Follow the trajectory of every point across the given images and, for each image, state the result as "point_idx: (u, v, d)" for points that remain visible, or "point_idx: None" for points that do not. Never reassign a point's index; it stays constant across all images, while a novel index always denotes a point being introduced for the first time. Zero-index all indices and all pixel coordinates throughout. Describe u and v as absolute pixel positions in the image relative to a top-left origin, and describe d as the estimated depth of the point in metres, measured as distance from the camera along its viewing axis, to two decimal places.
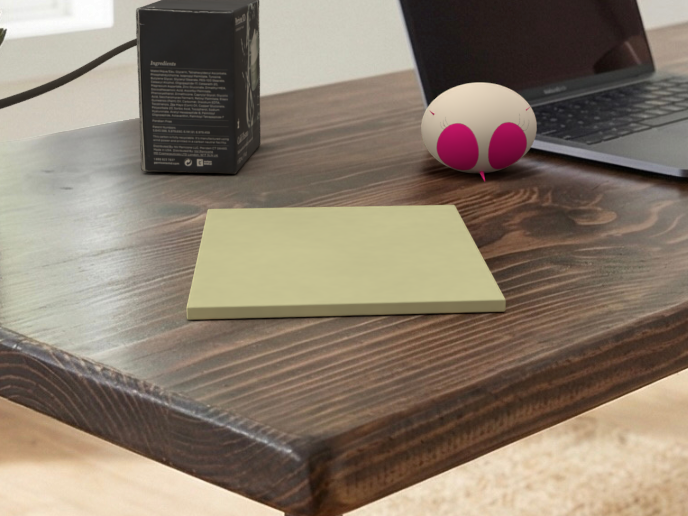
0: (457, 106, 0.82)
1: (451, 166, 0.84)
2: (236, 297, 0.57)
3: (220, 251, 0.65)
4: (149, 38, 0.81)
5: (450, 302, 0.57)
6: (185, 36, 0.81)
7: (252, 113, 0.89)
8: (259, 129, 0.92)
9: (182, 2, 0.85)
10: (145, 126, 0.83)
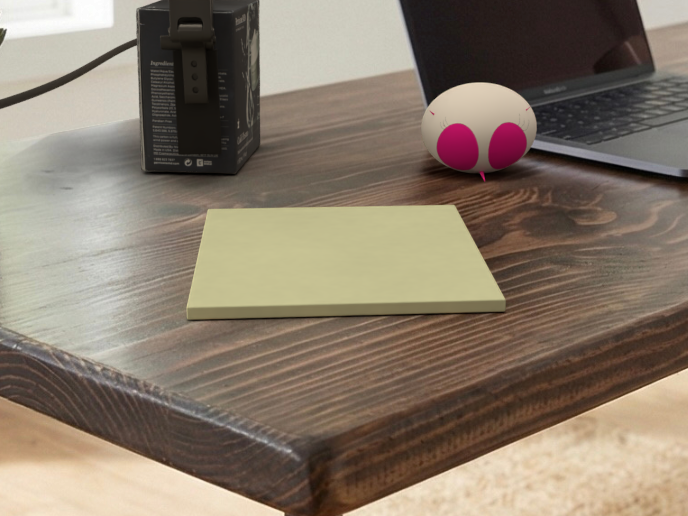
0: (457, 106, 0.82)
1: (451, 166, 0.84)
2: (236, 297, 0.57)
3: (220, 251, 0.65)
4: (149, 38, 0.81)
5: (450, 302, 0.57)
6: None
7: (252, 113, 0.89)
8: (259, 129, 0.92)
9: None
10: (145, 126, 0.83)
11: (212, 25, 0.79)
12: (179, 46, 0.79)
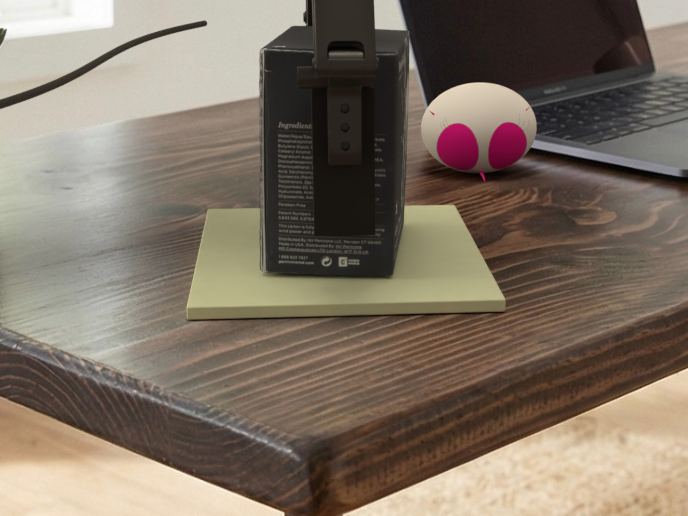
0: (457, 106, 0.82)
1: (451, 166, 0.84)
2: (236, 297, 0.57)
3: (220, 251, 0.65)
4: (278, 90, 0.58)
5: (450, 302, 0.57)
6: None
7: None
8: None
9: None
10: (268, 212, 0.59)
11: None
12: (324, 83, 0.54)
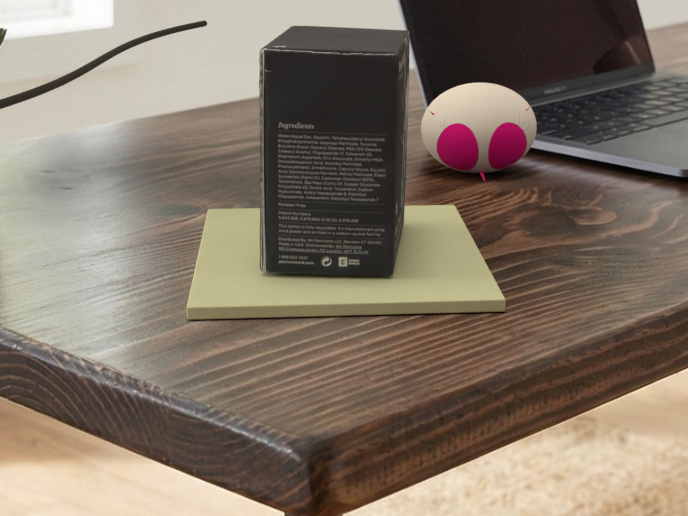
0: (457, 106, 0.82)
1: (451, 166, 0.84)
2: (236, 297, 0.57)
3: (220, 251, 0.65)
4: (278, 91, 0.58)
5: (450, 302, 0.57)
6: (329, 87, 0.57)
7: None
8: None
9: (316, 37, 0.61)
10: (268, 212, 0.59)
11: None
12: None
